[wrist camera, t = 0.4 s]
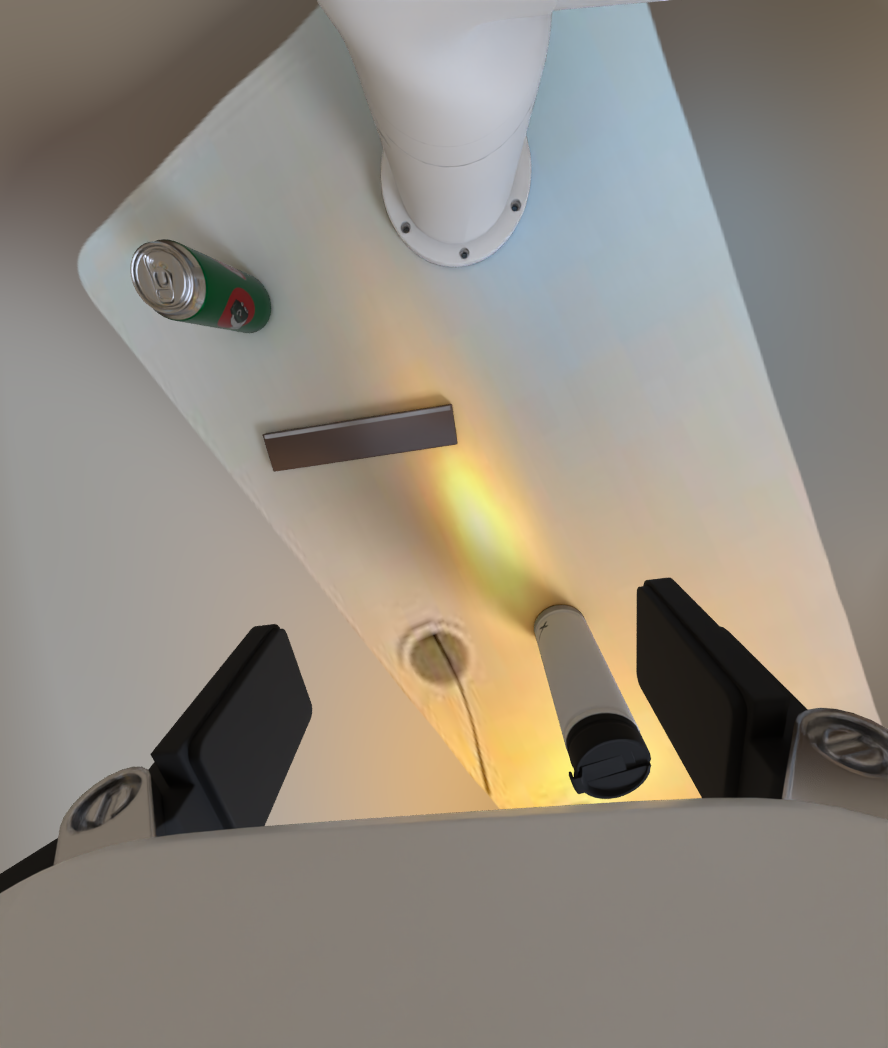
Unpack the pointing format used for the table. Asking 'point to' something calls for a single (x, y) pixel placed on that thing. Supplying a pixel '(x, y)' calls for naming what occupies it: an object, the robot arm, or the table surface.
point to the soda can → (198, 288)
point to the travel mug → (590, 708)
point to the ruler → (362, 438)
